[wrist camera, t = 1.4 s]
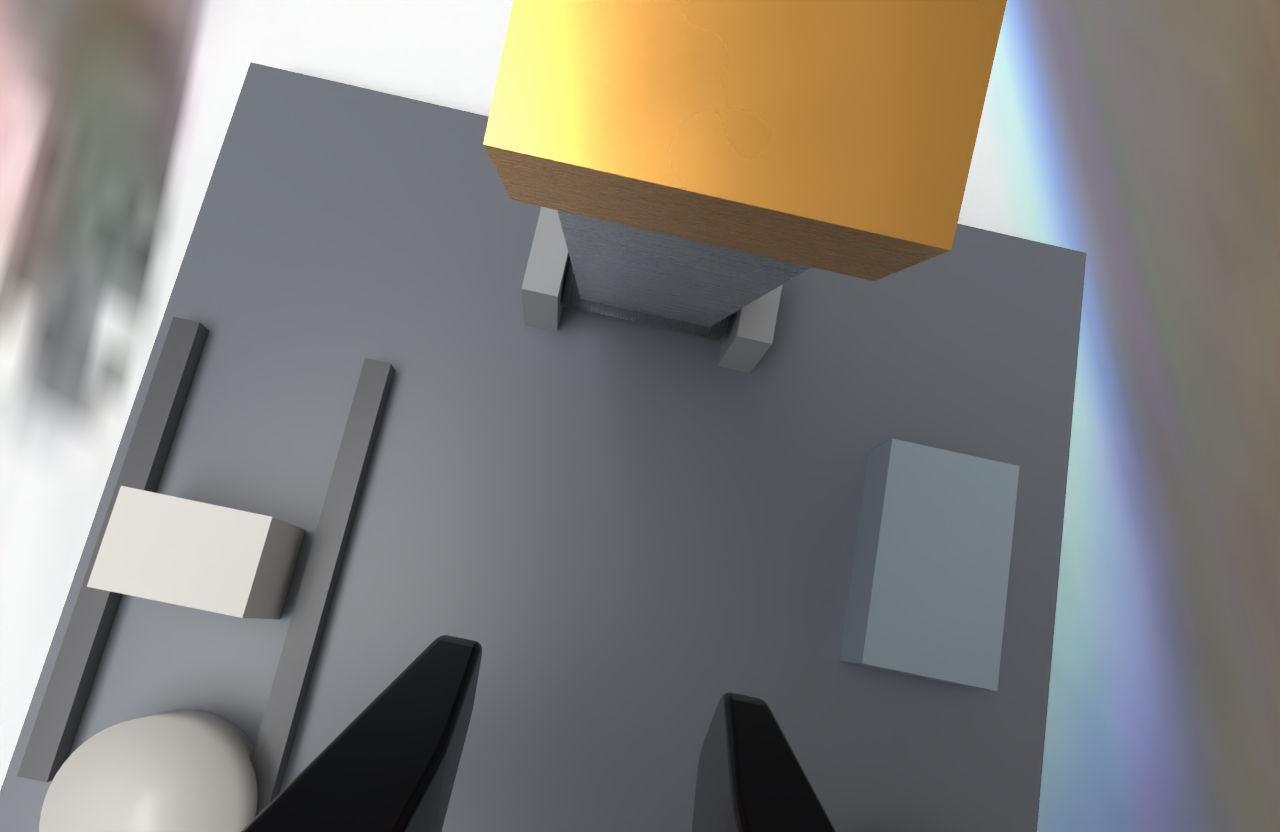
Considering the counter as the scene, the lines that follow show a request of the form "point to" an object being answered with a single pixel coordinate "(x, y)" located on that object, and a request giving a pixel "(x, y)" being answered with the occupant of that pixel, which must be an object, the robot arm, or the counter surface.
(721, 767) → the robot arm
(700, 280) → the lever
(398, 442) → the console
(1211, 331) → the counter surface
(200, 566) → the slider
